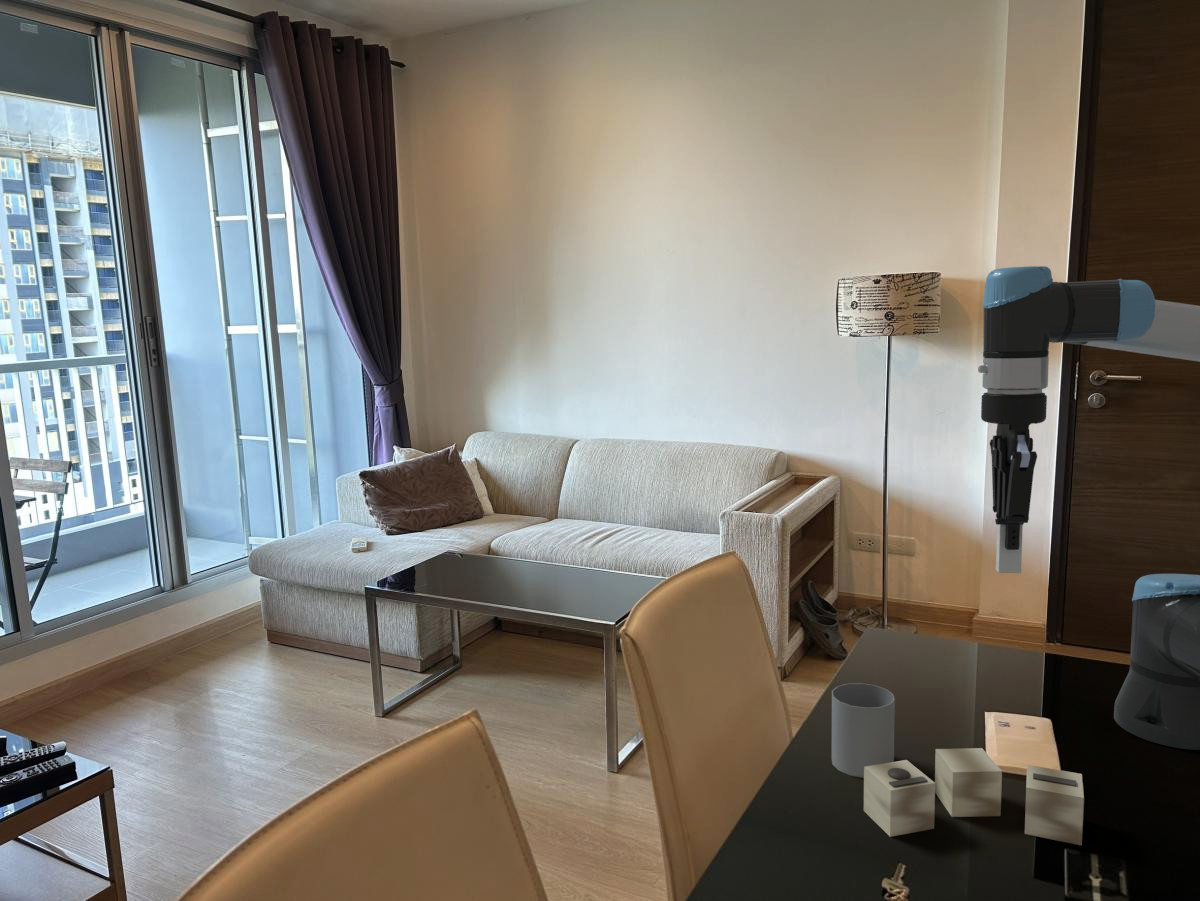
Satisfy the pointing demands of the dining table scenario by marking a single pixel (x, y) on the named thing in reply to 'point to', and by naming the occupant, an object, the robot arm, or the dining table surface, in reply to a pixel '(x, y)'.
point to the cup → (862, 727)
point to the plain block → (968, 782)
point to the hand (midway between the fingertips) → (1008, 571)
